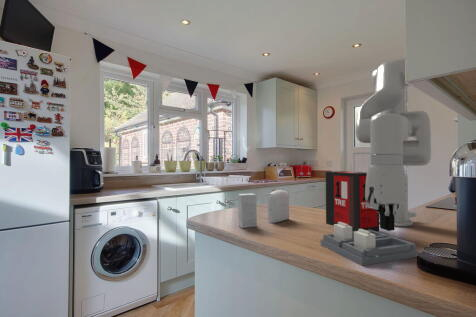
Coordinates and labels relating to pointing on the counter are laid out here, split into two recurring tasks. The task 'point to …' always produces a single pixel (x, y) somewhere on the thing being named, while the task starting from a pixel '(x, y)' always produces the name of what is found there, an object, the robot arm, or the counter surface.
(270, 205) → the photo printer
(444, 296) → the counter surface
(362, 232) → the tab
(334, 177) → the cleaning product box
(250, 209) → the skincare box
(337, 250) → the switch board
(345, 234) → the tab
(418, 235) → the counter surface
